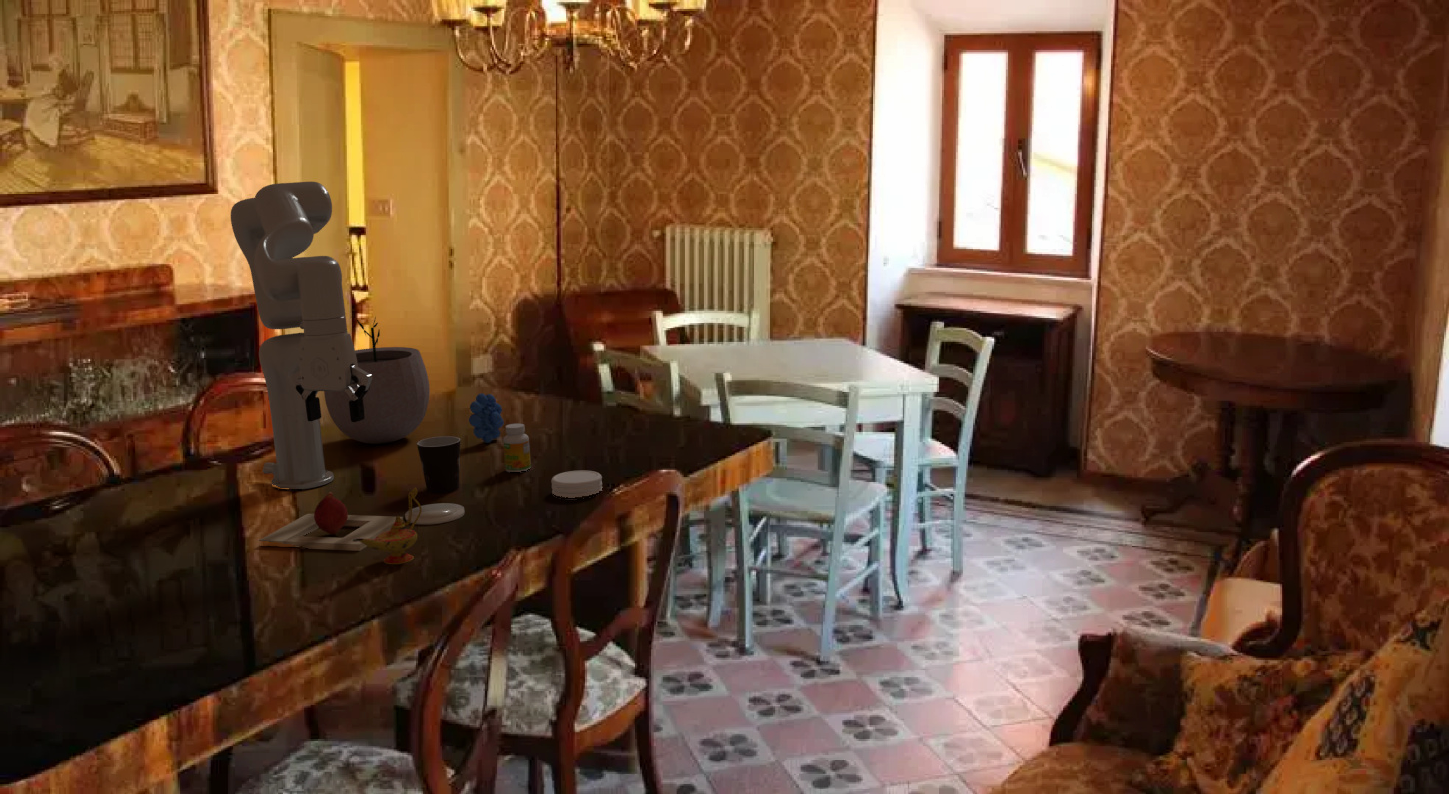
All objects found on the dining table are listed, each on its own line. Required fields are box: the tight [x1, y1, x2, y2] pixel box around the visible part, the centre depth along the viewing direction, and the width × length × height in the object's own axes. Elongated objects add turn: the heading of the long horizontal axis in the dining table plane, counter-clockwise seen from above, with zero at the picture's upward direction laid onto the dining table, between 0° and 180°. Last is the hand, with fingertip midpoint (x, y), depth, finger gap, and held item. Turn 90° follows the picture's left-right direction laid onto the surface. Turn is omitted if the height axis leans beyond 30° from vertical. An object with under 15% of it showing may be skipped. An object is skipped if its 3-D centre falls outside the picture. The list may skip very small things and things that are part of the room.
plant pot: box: [323, 316, 431, 445], centre depth 309 cm, size 24×24×30 cm
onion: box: [313, 491, 349, 536], centre depth 240 cm, size 6×6×8 cm
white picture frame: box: [258, 513, 404, 552], centre depth 241 cm, size 20×16×1 cm
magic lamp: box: [353, 487, 422, 565], centre depth 223 cm, size 7×18×11 cm, turn 156°
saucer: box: [404, 502, 465, 526], centre depth 250 cm, size 11×11×1 cm
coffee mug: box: [416, 435, 461, 494], centre depth 268 cm, size 12×9×10 cm
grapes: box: [468, 393, 505, 444], centre depth 304 cm, size 12×7×12 cm, turn 154°
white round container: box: [550, 469, 603, 498], centre depth 261 cm, size 10×10×4 cm
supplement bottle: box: [502, 423, 532, 473], centre depth 279 cm, size 5×5×10 cm
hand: (336, 420), depth 241 cm, fingers open, 9 cm apart
